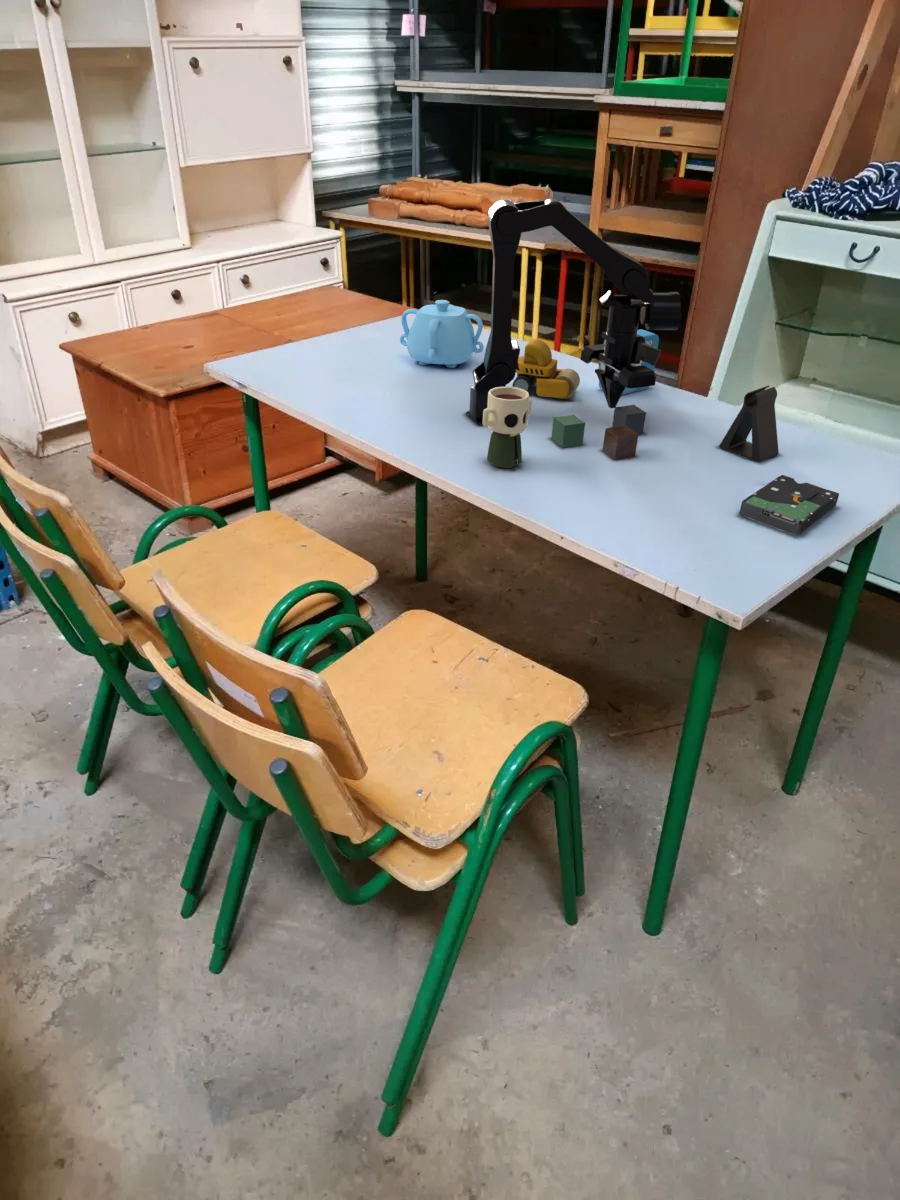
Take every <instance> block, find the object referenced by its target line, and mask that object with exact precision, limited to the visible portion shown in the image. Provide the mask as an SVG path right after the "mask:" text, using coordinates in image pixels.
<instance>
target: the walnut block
mask: <svg viewBox="0 0 900 1200" xmlns="http://www.w3.org/2000/svg"><path fill="white" fill-rule="evenodd" d="M638 441H639V434H637V433H636V432H634V431H633V430H631V429H630V428H628V427H627V426H620V427H613V428H612V427H606V428H605V429H604V435H603V443H602V452H603V453H605V455H608V456H609V457H610V458H612V459H613V460H614V461H616V460H621V459H629V458H635V457H636V453H637V448H638Z"/></svg>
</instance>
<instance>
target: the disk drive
mask: <svg viewBox="0 0 900 1200" xmlns="http://www.w3.org/2000/svg"><path fill="white" fill-rule="evenodd" d="M839 497H840V493H839V492H836V491H833V490H830V489H826V488H823V487H822V486H821V487H820V486H818V485H815V484H812V483H809V482H802V483H801V482H800V483H798V482H797V481H796V480H795V478H793V477H791V476H787V475H784V474H781V475H779V476H777V477H775V478H774V479H773V480H772V481H770V482H769V483H767V484H765V485H764V486H763V487H761V488H759V489H758V490H757V491H755V492H753V493H752V494H750V495H749V496H747V497H746V498H744V499H743V500H742V501H741V504H740V507H739V508H740V509H739V513H738V514H739V515H741V516H743V517H745V518H747V519H750V520H753V521H755V522H757V523H761V524H764V525H766V526H769V527H771V528H775V529H777V530H780V531H782V532H786V533H789V534H791V535H796V536H799V535H800V534H802V533H803V532H805V531H806V530H808V528H810V527H811V526H812V525H814V524H815V523H816V522H818V521H819V520H820V519H821V518H823V517H824V516H825V515H826V514H828V513H829V512H831V511H832V510H833V509H834V508H835V507H836V506H837V503H838V500H839Z"/></svg>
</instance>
